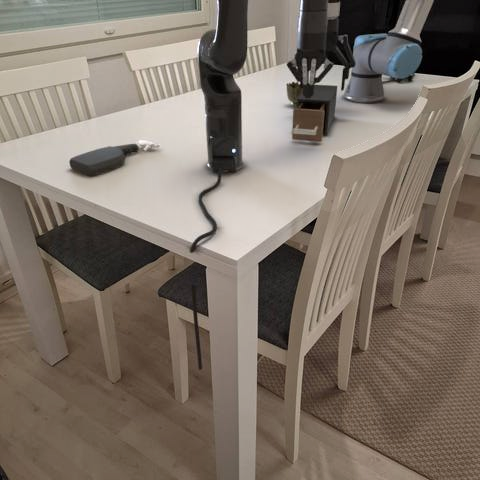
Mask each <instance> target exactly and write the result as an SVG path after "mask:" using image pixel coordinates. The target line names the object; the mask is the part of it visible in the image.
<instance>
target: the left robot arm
mask: <svg viewBox="0 0 480 480" xmlns="http://www.w3.org/2000/svg"><path fill="white" fill-rule="evenodd" d="M216 2H217V22H216V28H212V29H209V30H207V31H206V32H204V33H203V34H202V35H201V37H200V39H199V41H198V45H197V66H198V75H199V84H200V89H201V92H202V94H203V99H204V100H203V101H204V116H205V117H204V118H205V133H206V134H205V135H206V151H207V152H206V153H207V168H208V169H209V170H211V172H212V173H217V180H216V182H215V183H214V185H212V186H210V187H208V188H205V189H204V190H202V191H201V192H200V193H199V195H198V204H199V206H200V207H201V209H202V211H203V213H204V215H205V216H206V218H207V219H208V220H209V221H210V222H211V224H212V229H211V230H210V231H207V232H205V233H203V234H200V235H199V236H198V237H196V238H195V239H194V240H193V242H192V244H191V246H190V249H189V253H190V254H193V253H194V252H195V249H196V247H197V245H198V244H199V243H200V242H201V241H202V240H204V239H206V238H209V237H210V236H212V235H214V234H215V233H216V232H217V229H218V224H217V222H216V220H215V218H214V217H213V216H212V215H211V214H210V213H209V212H208V209H207V206H206V205H205V203H204V201H203V197H204V195H205V194H208V193H209V192H212V191H213V190H215V189H217V188H218V186H219V185H220V184H221V181H222V173H237V171H239V170H240V169H242V168H243V166H244V162H243V161H244V160H243V114H242V113H243V109H242V108H243V106H242V105H243V104H242V103H243V102H242V101H243V100H242V99H243V98H242V96H243V95H242V89H241V87H240V86H239V85H238V83H237V82H236V80H235V77H234V75H237V74H238V73H239V72H241V70H242V69H243V67H244V66H245V63H246V61H247V55H248V14H249V13H248V11H249V0H216ZM327 9H328V0H299V12H298V19H297V27H296V29H297V33H296V36H297V37H296V38H297V39H296V51H295V54H294V57H293V58H292V59H291V60H289V61H288V62H287V63H286V67H287V68H288V70H289V71H290V72H291V75H292V76H293V77H294V79H295V80H296V82H298V83H300V82H301V83H303V96H305V98H309V99H310V98H311V96H313V94H314V85H316V84H319V83H320V82H321V81H322V80H323V79H324V78H325V76H326V75H327V74H328V73H329V72H330V71H331V70H332V69H333V67H334V65H335V63H334V62H333V61H330V60H329V59H328V56H327V51H326V50H325V49H326V36H327V23H328V15H327ZM296 62H297V63H298V65H299V67H300V68H301V69H302V72H303V76H302V75H301V74H300V72H299V71H298V69H297V67H296V66H297V64H296ZM322 65H323V70H322V72H320V74H319V75H318V76H317V72H318V70H319V69H320V68H321V67H322ZM191 298H192V299H191V301H192V312H193V325H194V335H195V336H194V337H195V344H196V345H195V346H196V354H197V364H198V365H197V367H198V370H200V371H201V370H202V369H203V363H202V361H203V360H202V351H201V339H200V331H199V329H200V328H199V319H198V307H197V306H198V305H197V304H198V303H197V287H196V285H194V284H191Z"/></svg>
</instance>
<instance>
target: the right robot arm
mask: <svg viewBox="0 0 480 480" xmlns="http://www.w3.org/2000/svg"><path fill="white" fill-rule="evenodd" d="M434 2H435V0H405V1H404V4H403V6H402V10H401V12H400V15H399V16H398V20H397V22H396V25H395V27H394V28H393V29H391V30H389V31H388V33H375V34H363V35H358V36H356V37H355V39H354V45H353V47H352V48H353V50H351V46H350V44H349V37H348V34H344V35H339V22H340V19H339V17H340V10H341V9H340V8H341V0H328V9H327V15H328V23H327V36H326V49H325V52H329V51H332V52H333V53H334V54H335V56H336V57H337V59H338V60H339V62H340V63H341V65H342V66H343V68H342V73H341V84H340V85H341V87H340V91H344V92H343V98H344V99H345V100H347V101H350V102H355V103H361V104H363V103H364V104H372V103H373V104H374V103H380V102H381V101H384V99H385V90H384V85H383V84H387V83H393V82H398V81H397V78H399V79H402V81H404V80H409V79H408V78H407V77H408V76H410V75H412V77H413V78H414V77H415V72H416V71H417V70H418V68H419V67H420V64H421V63H422V59H423V49H422V47H421V44H422V39H421V36H420V34H421V33H422V30H423V28H424V25H425V22H426V21H427V18H428V15H429V12H430V11H431V8H432V7H433V3H434ZM339 41H340V43H341V44H342V45H343V48H344V51H345V53H346V57H347V58H348V60H347V59H346V57H345V55H344V54H343V53H342V51H341V50H340V48H339V47H338V45H337V43H338V42H339ZM348 61H349V62H348ZM296 64H297V66H296V68H297V69H298V71H299V72H300V74H301V75H302V76H303V72H302V69H301V68H300V67H299V65H298V63H297V62H296ZM350 70H351V71H350ZM383 76H386V77H389V78H390V77H392V78H395V79H389V80H383ZM349 77H350V78H349ZM346 80H348V83H347V84H346ZM299 84H300V89H302V88H303V83H301V82H299ZM345 85H346V86H345Z"/></svg>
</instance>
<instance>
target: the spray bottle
mask: <svg viewBox="0 0 480 480" xmlns="http://www.w3.org/2000/svg"><path fill="white" fill-rule="evenodd" d="M159 148H160V145H159V144H158V143H155V142H151V141H148V140H144V139H139V140H138V141H137V142H135V143H129V144H128V143H126V144H122V145H113V146H105V147H100V148H97V149H94V150H90V151H87V152H83V153H81V154H78V155H74V156H73V157H70V159H69V161H68V162H69V167H70V168H71V169H72V170H74V171H75V172H78V173H81V174H83V175H85V176H89V177H90V176H91V177H92V176H95V175H99V174H102V173H105V172H107V171H110V170H113V169H116V168H118V167H120V166H122V165H123V164H124V163H125V158H126V156H127V155H131V154H133V153H138V151H140V150H143V151H144V152H146V151H147V150H149V149H159Z"/></svg>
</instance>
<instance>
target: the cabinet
mask: <svg viewBox="0 0 480 480" xmlns="http://www.w3.org/2000/svg"><path fill="white" fill-rule="evenodd" d="M337 93H338V85H330V84H326V85H325V84H314V94H313V96H311V98H310V99H309V98H305V96H303V91H302V92H301V94H300V95H299V97H298V98H297V104H296V108H298V107H299V105H300V104H301V102H311V103H327V109H326V121H325V128H324V130H323V134H322V137H323V136H324V137H325V136H326V137H327V136H328V134H329V132H330V129H331V126H332V125H333V122H334V119H335V117H336V116H335V115H336V114H335V113H336V104H337V95H338V94H337Z"/></svg>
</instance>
